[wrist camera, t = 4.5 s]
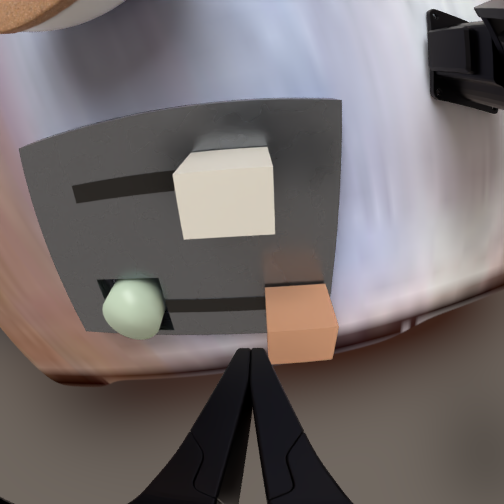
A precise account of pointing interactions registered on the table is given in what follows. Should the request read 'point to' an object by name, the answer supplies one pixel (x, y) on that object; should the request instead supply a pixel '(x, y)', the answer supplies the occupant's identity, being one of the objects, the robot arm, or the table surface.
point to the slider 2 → (300, 324)
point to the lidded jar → (50, 14)
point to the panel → (167, 215)
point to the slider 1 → (226, 193)
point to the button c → (135, 307)
